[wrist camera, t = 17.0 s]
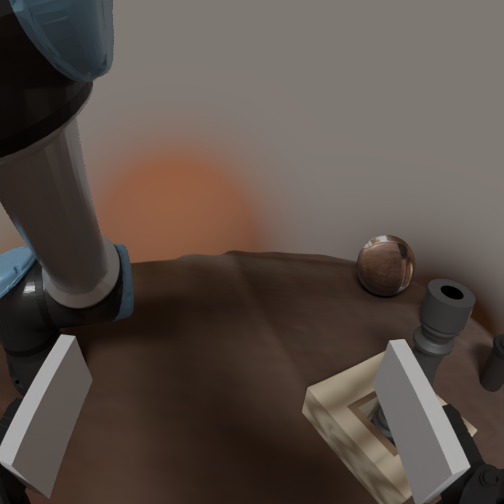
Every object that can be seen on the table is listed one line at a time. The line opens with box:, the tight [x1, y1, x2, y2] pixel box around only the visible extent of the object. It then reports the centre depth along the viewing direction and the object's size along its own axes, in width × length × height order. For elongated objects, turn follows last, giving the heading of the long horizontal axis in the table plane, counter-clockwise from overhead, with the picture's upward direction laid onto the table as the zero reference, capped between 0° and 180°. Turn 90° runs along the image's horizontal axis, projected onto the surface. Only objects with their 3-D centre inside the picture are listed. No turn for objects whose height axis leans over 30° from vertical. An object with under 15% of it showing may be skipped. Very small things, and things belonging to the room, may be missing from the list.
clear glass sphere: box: [357, 235, 415, 296], centre depth 74 cm, size 15×15×15 cm
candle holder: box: [371, 279, 475, 447], centre depth 33 cm, size 6×6×25 cm
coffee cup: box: [480, 334, 504, 392], centre depth 43 cm, size 8×8×10 cm
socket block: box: [302, 351, 477, 504], centre depth 37 cm, size 22×16×6 cm
